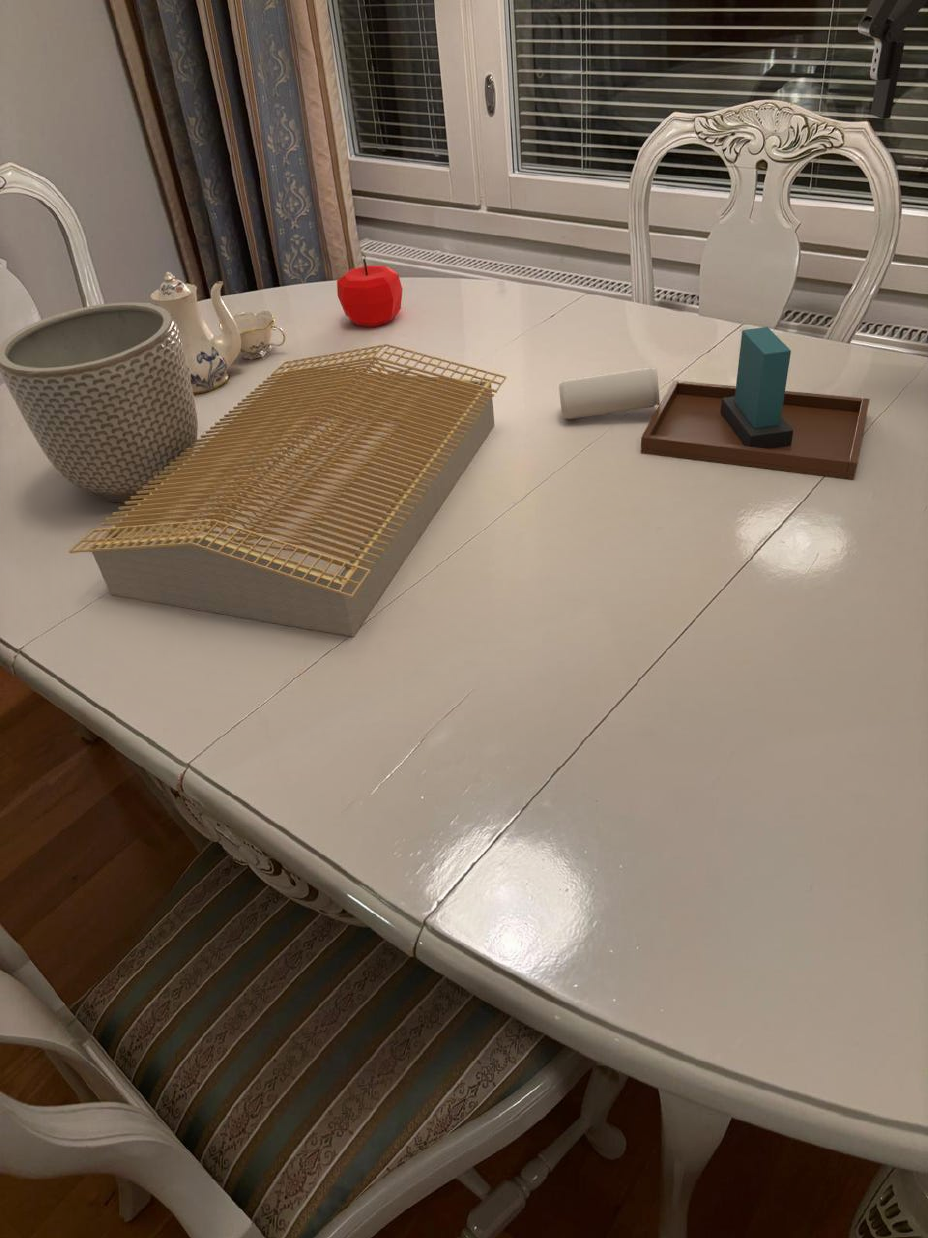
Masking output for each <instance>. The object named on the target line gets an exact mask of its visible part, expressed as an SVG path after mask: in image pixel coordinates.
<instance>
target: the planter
mask: <svg viewBox="0 0 928 1238" xmlns="http://www.w3.org/2000/svg"><path fill="white" fill-rule="evenodd" d="M148 303H149V302H137V301H136V302H133V301H131V302H130V301H127V302H126V301H125V302H110V303H109V302H108V303H102V304H96V305H95V304H94V305H89V306H85V307H79V308H75V309H71V310H67V311H63V312H60V313H56V314H53V315H50V316H49V317H46V318H43V319H40V320H38V321H36V322H33V323H31V324H28V325H27V326H25V327H23V328H21V329H19V330H17V331H16V332H14V333H13V334H11V335H10V336H9V337H7V338H6V339H4V341H3V342H1V344H0V375H1V378H2V380H3V381H4V384H5V386H6V388H7V390H8V391H9V393H10V395H11V397H12V399H13V400H14V402H15V404H16V406H17V409H18V410H19V412H20V413H21V416H22V418H23V419H24V421H25V424H26V426H27V427H28V428H29V430H30V432H31V433H32V435H33V437H34V439H35V440H36V443H37V444H38V446H39V447H40V449H41V450H42V452H43V453H44V455H45V456H46V458H47V459H48V462H50V464H51V465H52V466H53V467H54V468H55V469H56V470H57V472H59V474H60V475H61V476H62V477H63V478H64V479H66V480H67V481H69V482H70V483H72V484H74V485H75V486H77V487H79V488H81V489H83V490H86V491H89V492H93V493H96V494H97V495H98V496H100V497H101V498H103V499H104V500H106V501H109V502H112V503H119V504H121V503H122V504H125V502H128V501H138V500H143V499H144V498H140V499H131V496H141V495H149V494H150V493H144V494H137V491H146V490H154V489H156V488H149V489H143V488H142V486H151V485H160V484H161V483H155V484H148V481H156V480H165V479H167V478H161V479H154V476H163V475H171V474H172V473H168V474H160V473H159V472H161V471H169V470H177V469H178V468H175V469H166V470H165V467H168V466H177V465H182V464H184V463H182V464H174V465H170V462H176V461H184V460H188V459H182V460H176V459H175V458H176V457H184V456H192V455H193V454H191V455H183V456H181V454H180V453H185V452H193V451H194V450H192V451H186V448H194V447H196V446H193V447H191V445H190V444H196V443H197V442H196V440H198V433H199V431H198V430H199V421H198V413H197V406H196V405H197V404H196V400H195V396H194V395H195V394H193V390H192V385H191V380H190V376H189V372H188V368H187V364H186V360H185V355H184V351H183V347H182V342H181V339H180V335H179V331H178V328H177V325H176V323H175V320H174V318H173V316H172V314H171V313H170V312H169V311H168V310H166V309H164V308H162V307H160V306H157V305H156V304H154V303H152V304H148ZM153 304H154V305H153Z"/></svg>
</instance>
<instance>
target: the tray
mask: <svg viewBox="0 0 928 1238" xmlns="http://www.w3.org/2000/svg"><path fill="white" fill-rule="evenodd" d="M735 391H736V385H727V384H717V383H708V382H707V383H705V382H695V381H686V380H675V379H672V381H671V383H670V385H669V387H668V388H667V390H666V392H665V393H664V396H663V398H662V399H661V401H660V404H659V405H657V406H658V407H657V409H656V410H655V412H654V413H653V415H652V417H651V419H650V421H649V422H648V425H647V426H646V428H645V430H644V432H643V434H642V436H641V437H640V443H641V444H640V453H641V454H647V455H648V454H649V455H655V456H656V455H657V456H664V457H672V458H680V459H687V460H694V461H703V462H711V463H719V464H728V465H734V466H743V467H752V468H760V469H767V470H768V469H769V470H773V471H784V472H791V473H798V474H799V473H800V474H807V475H815V476H821V477H830V478H838V479H846V480H847V479H848V480H854V479H855V475H856V469H857V466H858V461H859V455H860V451H861V445H862V439H863V435H864V430H865V424H866V420H867V414H868V409H869V404H870V400H871V399H870V398H867V397H866V398H865V397H855V396H845V395H844V396H843V395H833V394H824V393H814V392H813V393H811V392H802V391H792V390H785V394H784V401H783V408H782V414H781V416H782V417H783V419H784V420H785V421H786V422H787V423H788V425H789V426H790V427H791V428H792V429H793V437H792V443H791V446H785V447H778V448H770V449H765V448H757V447H748V446H744V444H743V443H742V441H741V440H740V439H739V437H738V436H737V435H736V433H735V432H734V430H733V429H732V428H731V426H730V425H729V424H728V422H727V421H726V420H725V418H724V417H723V415H722V414H721V413H720V412H721V402H722V398H726V397H734V396H735Z"/></svg>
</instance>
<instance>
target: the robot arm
mask: <svg viewBox="0 0 928 1238" xmlns="http://www.w3.org/2000/svg"><path fill="white" fill-rule="evenodd" d="M927 2H928V0H870V2H869V4H868V6H867V8H866V9H865V12H864V13H863V15H862V17H861V19H860V21H859V23H858V25H857V31H858V33H859V34H861V35H862V34H863V35H864V36H868V37H871V38H872V39H873V40H874V48H873V53H872V60H871V65H870V69H869V70H870V71H869V76H870V79H872V80H874V81H875V86H874V90H873V91H874V92H873V97H872V103H871V108H870V115H872V116H874V117H876V118H878V119H882V120H887V119H888V120H889V119H891V116H892V110H893V107H894V102H895V101H894V100H895V97H896V96H895V95H896V91H897V90H896V89H897V84H898V81H899V76H900V75H899V74H900V70H901V64H902V59H903V53H904V48H905V44H906V42H905V41H903V40H900V39H898V37H899V36H900V35H901V34H902V33H903V32H904V30H905V29H906V28H907V27H908V25H909V24H910V23H911V21H912V20H913V19H914V17H916V16H917V15H918V13H919V12H920V11H921V9H922V8H923V7H924V6H925V5H926V3H927Z"/></svg>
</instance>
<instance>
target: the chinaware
mask: <svg viewBox="0 0 928 1238" xmlns="http://www.w3.org/2000/svg"><path fill="white" fill-rule="evenodd" d="M163 280H164V281H163V282H162V283H161V284H160V286H159V289H156V290H155V291H154V292H152V293H151V294H150V296H149V297H150V298H151V299H152V301H153V302H154V303H152V302H147V303H148V304H153V305H157V306H160V307H162V308H164V309H166V310H168V311H169V312H170V313H171V314H172V316H173V318H174V320H175V323H176V325H177V328H178V331H179V335H180V339H181V342H182V347H183V351H184V355H185V360H186V364H187V368H188V372H189V376H190V380H191V385H192V390H193V395H196V394H203V393H207V392H210V391H213V390H216V389H218V388H220V387H221V386H223V385H224V384H226V383H227V382H228V380H229V373H228V372H227V371H228V370H229V368H230V367H231V365H232V364H233V363H234V361H235V360H236V359H237V357H238V356H239V354H240V352H241V353H244V355H243V358H245V359H248V360H254V359H259V358H264V356H265V355H266V354H267V351H268V352H271V351H272V350H273V346H276V347H281V346H283V345H284V344H285V342H286V338H287V337H286V333H285V331H284V329H283V328H282V327H281V326H278V325H275V324H276V323H275V322H276V321H275V319H276V318H274V316H273V314H272V313H271V312H270V311H267V310H265V311H264V310H263V311H260V312H258V313H253V312H250V311H241V312H239V313H236V314H235V315H234V316H232V314H231V312H230V311H229V308H228V307H227V306H226V303H224V300H223V299H222V296H221V289H222V286H223V285H224V281H221V280H220V281H216V282H215V283H214V284H213V286H212V287H211V290H210V301H211V305H212V307H213V309H214V312H215V314H216V317H217V319H218V321H219V324H218V326H219V329H220V331H221V333H220V335H214V334H212V332H211V330H210V328H209V326H208V325H207V323H206V321H205V320H204V317H203V315H202V313H201V310H200V307H199V303H198V299H197V290H198V287H197V286H196V285H195V284H191V283H184V282H183V281H182V280H180V279H178V278H176V276H175V275H173V274H172V272H170V271H166V273H165V276H164V277H163ZM276 329H278V330H279V331H280V332H281V334H282V336H283V339H282V341H281V342H280V343H273V342H271V341H272V340H271V339H272V335H273V332H275V331H276ZM265 349H266V350H265Z"/></svg>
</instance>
